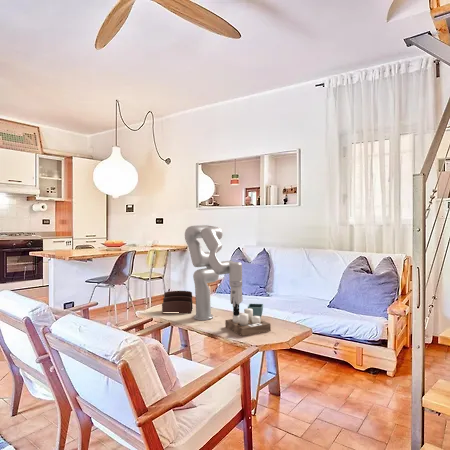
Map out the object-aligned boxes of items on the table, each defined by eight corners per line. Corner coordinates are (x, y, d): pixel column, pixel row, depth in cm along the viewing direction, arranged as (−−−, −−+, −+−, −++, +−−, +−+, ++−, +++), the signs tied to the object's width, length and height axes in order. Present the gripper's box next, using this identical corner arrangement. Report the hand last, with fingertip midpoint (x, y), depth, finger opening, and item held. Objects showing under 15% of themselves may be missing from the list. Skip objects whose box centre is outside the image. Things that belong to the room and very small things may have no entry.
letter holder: (164, 310, 247) (164, 290, 246) (192, 310, 246) (192, 290, 246) (162, 314, 237) (161, 293, 236) (191, 313, 236) (190, 293, 236)
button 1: (231, 325, 203) (231, 315, 203) (238, 324, 205) (238, 314, 205) (235, 328, 198) (235, 317, 198) (243, 326, 201) (242, 316, 201)
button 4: (250, 327, 199) (249, 316, 199) (257, 325, 202) (257, 315, 202) (254, 329, 195) (254, 318, 195) (262, 327, 197) (262, 317, 197)
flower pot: (262, 321, 212) (261, 307, 212) (247, 321, 214) (247, 306, 214) (263, 317, 221) (263, 303, 220) (249, 317, 222) (249, 303, 222)
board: (225, 326, 204) (225, 320, 204) (251, 322, 212) (251, 315, 212) (242, 336, 186) (242, 329, 186) (270, 330, 194) (270, 323, 194)
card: (247, 325, 192) (247, 324, 192) (258, 323, 195) (258, 322, 195) (251, 327, 189) (251, 326, 189) (262, 325, 192) (262, 324, 192)
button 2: (237, 324, 196) (237, 314, 196) (245, 323, 198) (245, 312, 198) (242, 327, 191) (242, 316, 191) (250, 325, 193) (249, 314, 193)
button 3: (243, 319, 206) (242, 309, 206) (250, 317, 209) (249, 308, 209) (247, 321, 202) (247, 311, 202) (254, 319, 204) (254, 309, 204)
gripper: (238, 286, 193) (239, 319, 194) (245, 281, 208) (245, 312, 208) (225, 285, 195) (226, 318, 196) (233, 281, 210) (233, 311, 210)
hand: (236, 315), depth 202 cm, fingers closed
